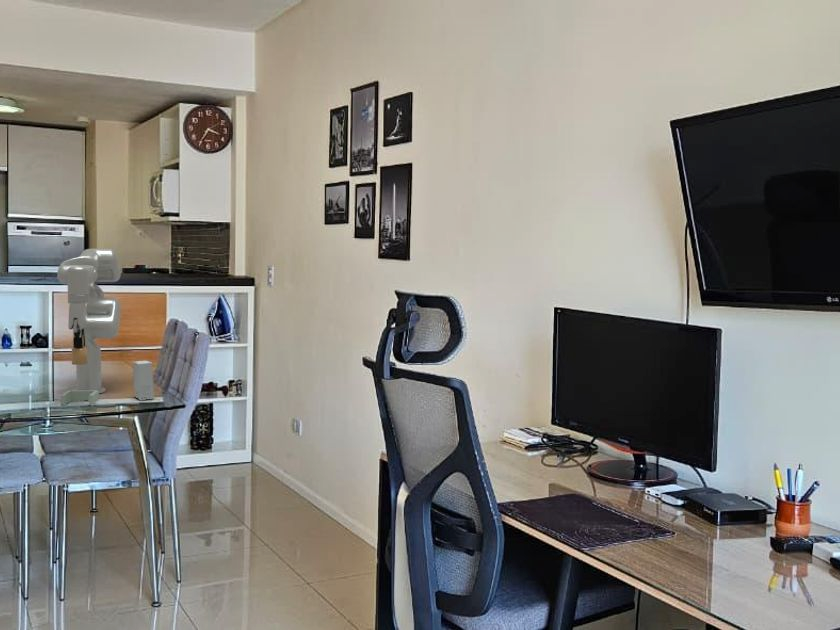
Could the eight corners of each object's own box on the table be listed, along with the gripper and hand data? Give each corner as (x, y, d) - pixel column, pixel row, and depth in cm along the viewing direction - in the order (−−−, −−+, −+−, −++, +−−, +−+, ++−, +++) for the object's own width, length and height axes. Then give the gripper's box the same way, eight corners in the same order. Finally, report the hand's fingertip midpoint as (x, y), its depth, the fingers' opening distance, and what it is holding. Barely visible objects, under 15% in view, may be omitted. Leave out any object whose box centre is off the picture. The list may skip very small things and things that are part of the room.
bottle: (74, 362, 344) (73, 334, 343) (89, 362, 345) (88, 334, 344) (70, 364, 339) (69, 335, 338) (85, 364, 340) (85, 335, 338)
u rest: (68, 400, 348) (68, 390, 348) (98, 400, 350) (98, 390, 349) (61, 405, 338) (61, 395, 338) (92, 405, 339) (92, 395, 339)
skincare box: (154, 399, 353) (153, 362, 352) (138, 401, 350) (138, 363, 348) (147, 396, 360) (147, 359, 359) (132, 397, 357) (132, 360, 355)
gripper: (73, 297, 347) (74, 344, 349) (62, 301, 331) (63, 350, 333) (93, 297, 348) (94, 344, 350) (83, 301, 332) (84, 350, 334)
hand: (79, 346), depth 341 cm, fingers closed on bottle, 3 cm apart
